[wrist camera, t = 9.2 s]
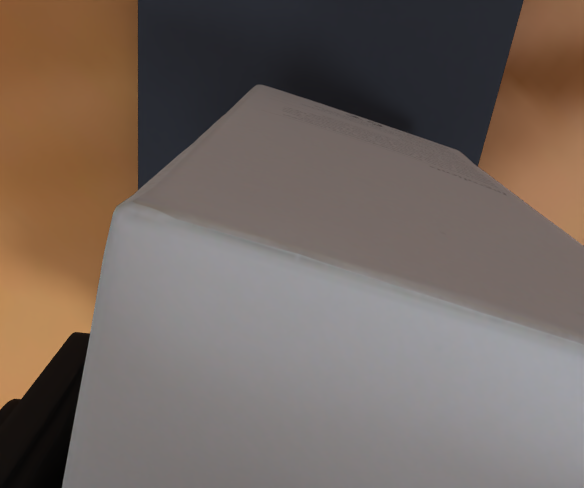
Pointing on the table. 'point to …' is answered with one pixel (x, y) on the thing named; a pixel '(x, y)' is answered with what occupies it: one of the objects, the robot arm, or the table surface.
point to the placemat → (321, 65)
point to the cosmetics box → (330, 318)
